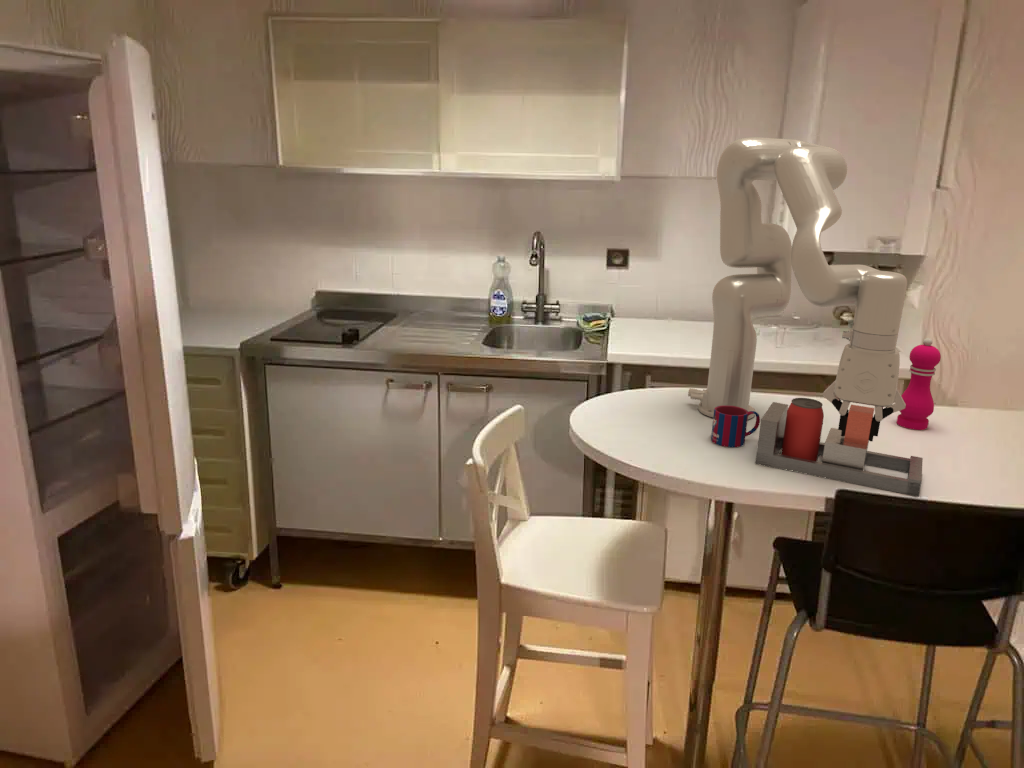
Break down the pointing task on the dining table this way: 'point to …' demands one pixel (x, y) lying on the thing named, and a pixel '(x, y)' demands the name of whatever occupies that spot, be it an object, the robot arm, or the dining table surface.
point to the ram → (850, 440)
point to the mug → (731, 425)
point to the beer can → (803, 429)
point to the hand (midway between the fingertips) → (857, 435)
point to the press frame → (770, 456)
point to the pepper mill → (919, 387)
